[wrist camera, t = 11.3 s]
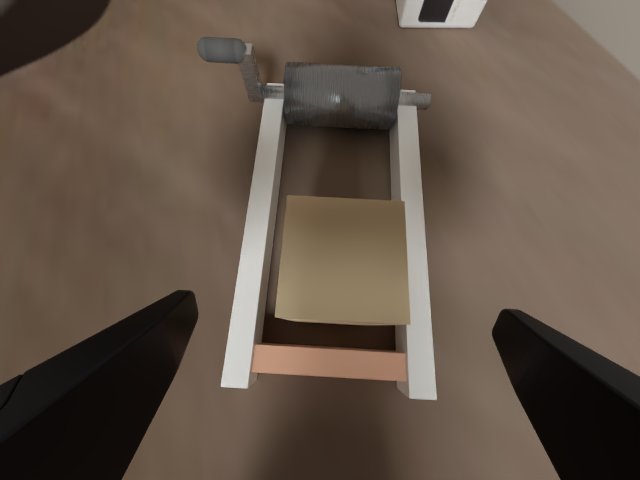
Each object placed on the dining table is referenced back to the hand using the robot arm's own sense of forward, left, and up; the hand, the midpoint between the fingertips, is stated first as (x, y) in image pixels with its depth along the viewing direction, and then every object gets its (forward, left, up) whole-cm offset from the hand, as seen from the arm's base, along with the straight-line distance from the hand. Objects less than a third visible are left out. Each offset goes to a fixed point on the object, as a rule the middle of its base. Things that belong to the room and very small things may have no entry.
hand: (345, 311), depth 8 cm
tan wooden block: (+1, +2, -11) cm, 11 cm away
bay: (+2, +7, -11) cm, 13 cm away
